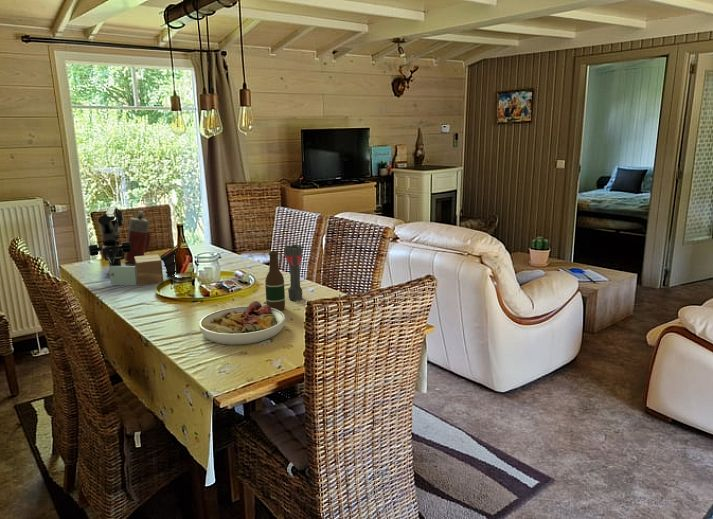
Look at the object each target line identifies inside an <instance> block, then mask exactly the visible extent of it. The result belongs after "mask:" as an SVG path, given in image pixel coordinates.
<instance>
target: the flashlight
mask: <svg viewBox="0 0 713 519" xmlns="http://www.w3.org/2000/svg"><path fill="white" fill-rule="evenodd" d="M283 253H284V254H283V255H284V256H285V259H286V262H287V263H288V266H289V276H290V277H289V278H290V279H289V281H290V285H289V288H287V291H288V292H287V293H288V298H289V300H290V301H292V300H293V301H294V302H299V301H300V300H303V288H302V287H301V272H300V265H301V261H302V254H303V246H302V245H300V244H299V245H297V244H292V245H285V246H284V248H283Z"/></svg>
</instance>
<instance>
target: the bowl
mask: <svg viewBox="0 0 713 519" xmlns="http://www.w3.org/2000/svg"><path fill="white" fill-rule="evenodd" d="M285 322H286V315H285V314H284V313H283V311H279V310H277V309H273V308H271V307H270V306H268V305H266V304H265V305H262V303H260V301H257V300H254V301H252V302H250V304H249V305H243V306H235V307H228V308H223V309H219V310H217V311H216V310H215V311H213V312H211V313H208V314H206V315H204V316H203V317H202V318H201V319H200V320H199V324H198V328H199V330H200V333H201V334H202V335H203V337H204V338H206V339H207V340H209V341H210V342H214V343H217V344H221V345H230V346H231V345H233V346H235V345H249V344H250V345H251V344H255V343H259V342H262V341H266V340H269V339H271V338H273V337H274V336H276V335H278V334H279V333H280V332H281V331H282V329H284V327H285Z"/></svg>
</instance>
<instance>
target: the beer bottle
mask: <svg viewBox="0 0 713 519" xmlns="http://www.w3.org/2000/svg"><path fill="white" fill-rule="evenodd" d="M278 254H279V252H278V251H276V250H272V251H268V255H269V266H268V267H269V268H268V269H269V270H268V272H267V274H266V277H265V286H264V287H265V302H266V304H265V305H268V306H270V307H271V308H273V309H277V310H279V311H281V312H284V311H285V309H286V296H285V294H286V293H285V292H286V291H285V279H284V275H283V273H282V272H281V271H280V267H279V266H280V265H279V259H278V258H279V257H278Z"/></svg>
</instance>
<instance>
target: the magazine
mask: <svg viewBox="0 0 713 519" xmlns="http://www.w3.org/2000/svg"><path fill="white" fill-rule="evenodd" d="M176 247H177V245H175V246H174V247H172V248H171V249H169V250H167V251H166V252H165V253H163V254H161V255H159V257H160V259H161V262H163V267H165V270H166V271H165V274H166V276H167V277H169V278H171V277H173V276H172V275H174V274H175V272H176V271H175V262H174V255H175V251H176Z"/></svg>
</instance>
